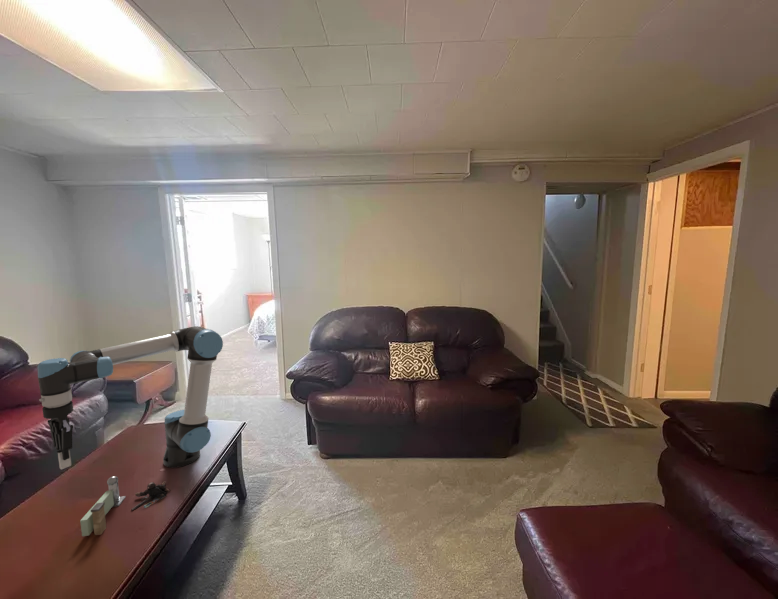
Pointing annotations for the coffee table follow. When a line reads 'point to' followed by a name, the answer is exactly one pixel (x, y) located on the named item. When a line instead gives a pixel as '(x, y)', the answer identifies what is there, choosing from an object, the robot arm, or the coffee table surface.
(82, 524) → the gate
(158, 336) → the robot arm
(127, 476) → the coffee table surface
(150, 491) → the stuffed animal
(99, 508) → the block
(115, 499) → the hinge post
